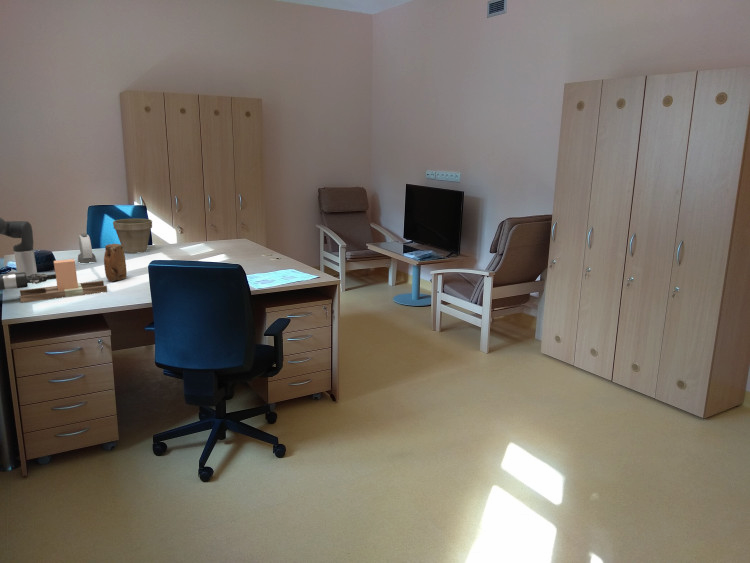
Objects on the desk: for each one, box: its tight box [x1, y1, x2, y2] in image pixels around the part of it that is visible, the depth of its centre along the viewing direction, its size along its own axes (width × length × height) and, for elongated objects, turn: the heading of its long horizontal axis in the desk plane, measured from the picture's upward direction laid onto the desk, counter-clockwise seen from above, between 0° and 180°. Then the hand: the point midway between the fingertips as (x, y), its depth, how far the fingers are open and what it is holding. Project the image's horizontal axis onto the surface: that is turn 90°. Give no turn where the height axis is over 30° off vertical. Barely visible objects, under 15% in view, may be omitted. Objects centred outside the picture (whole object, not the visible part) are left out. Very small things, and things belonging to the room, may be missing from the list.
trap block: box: [53, 258, 79, 290], centre depth 282 cm, size 6×9×14 cm, turn 122°
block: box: [103, 243, 127, 282], centre depth 309 cm, size 11×8×20 cm
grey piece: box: [77, 233, 97, 263], centre depth 353 cm, size 16×10×18 cm, turn 34°
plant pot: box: [112, 218, 153, 254], centre depth 386 cm, size 25×25×22 cm
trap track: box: [19, 280, 108, 304], centre depth 283 cm, size 14×38×3 cm, turn 122°
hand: (55, 276), depth 279 cm, fingers closed
